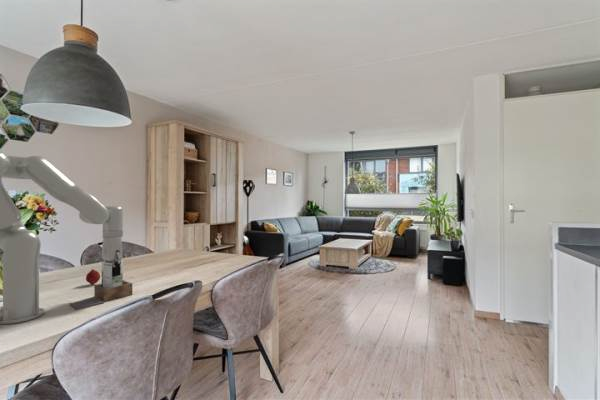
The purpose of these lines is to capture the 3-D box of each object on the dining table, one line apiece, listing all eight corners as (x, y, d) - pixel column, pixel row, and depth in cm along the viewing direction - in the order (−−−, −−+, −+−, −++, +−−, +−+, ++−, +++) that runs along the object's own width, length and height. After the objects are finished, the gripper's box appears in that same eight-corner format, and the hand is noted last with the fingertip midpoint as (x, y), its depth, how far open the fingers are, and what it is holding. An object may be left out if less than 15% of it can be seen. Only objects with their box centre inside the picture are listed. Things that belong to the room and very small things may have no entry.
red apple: (102, 282, 151) (102, 267, 151) (96, 286, 145) (96, 269, 145) (89, 283, 150) (89, 267, 150) (83, 286, 144) (83, 270, 144)
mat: (77, 309, 113) (77, 308, 113) (69, 304, 119) (69, 303, 119) (103, 303, 121) (103, 301, 121) (95, 298, 126) (95, 297, 126)
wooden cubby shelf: (104, 301, 123) (104, 289, 123) (94, 296, 129) (94, 285, 129) (132, 294, 131) (132, 283, 131) (121, 290, 138) (121, 279, 138)
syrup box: (112, 291, 134) (112, 259, 134) (123, 292, 132) (123, 260, 132) (101, 295, 128) (101, 262, 128) (111, 296, 127) (111, 262, 127)
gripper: (95, 233, 133) (95, 273, 133) (111, 236, 122) (111, 279, 122) (113, 232, 139) (113, 270, 138) (130, 234, 128) (130, 275, 128)
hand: (112, 274), depth 130 cm, fingers closed on syrup box, 7 cm apart
